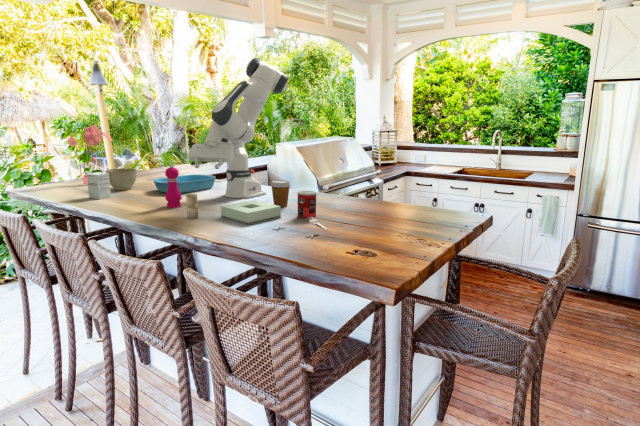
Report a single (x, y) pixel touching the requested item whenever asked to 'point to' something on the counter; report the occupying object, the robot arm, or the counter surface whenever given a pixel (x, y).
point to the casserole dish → (187, 183)
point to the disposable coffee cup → (280, 192)
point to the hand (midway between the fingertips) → (206, 167)
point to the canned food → (306, 204)
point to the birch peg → (192, 206)
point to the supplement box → (98, 185)
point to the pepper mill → (172, 188)
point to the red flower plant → (90, 142)
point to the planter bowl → (122, 178)
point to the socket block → (250, 212)
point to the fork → (316, 223)
